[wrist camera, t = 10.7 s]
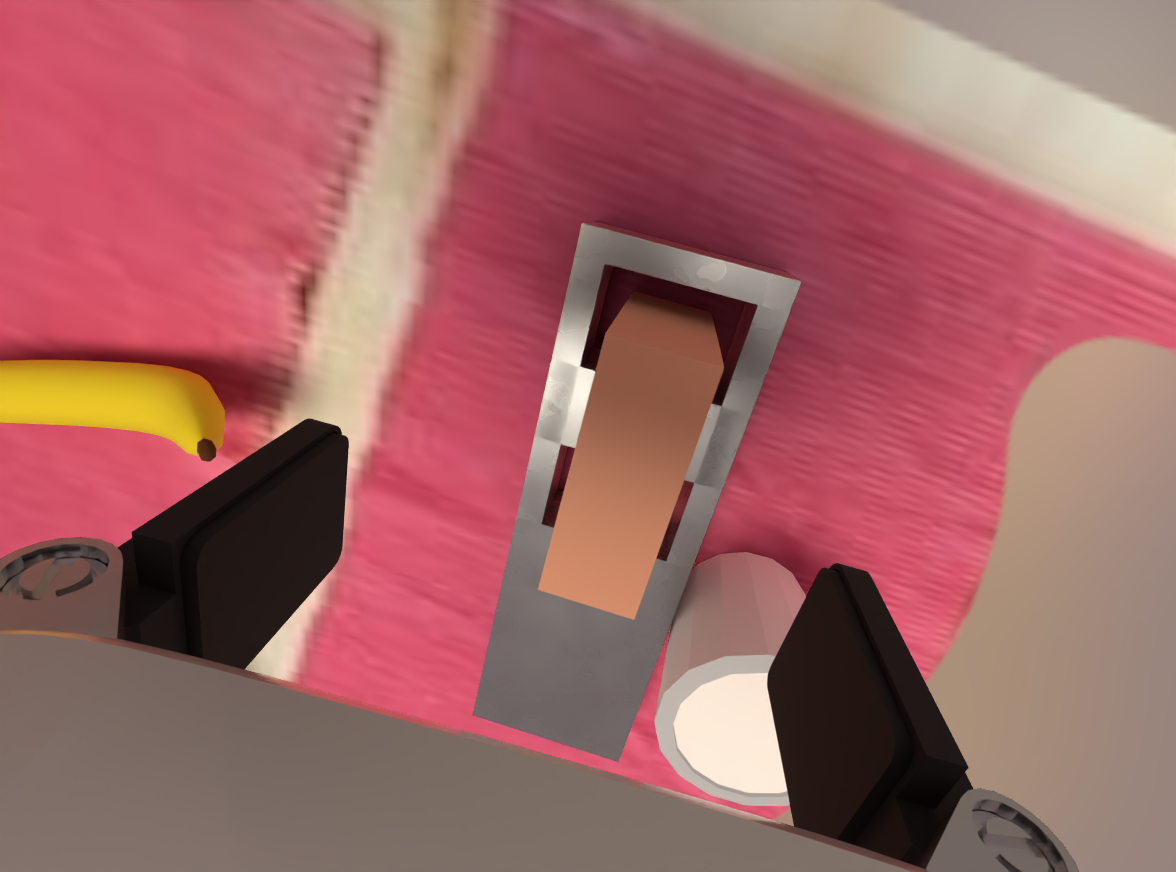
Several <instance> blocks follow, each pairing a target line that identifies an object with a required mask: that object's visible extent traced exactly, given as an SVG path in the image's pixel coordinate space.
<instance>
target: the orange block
mask: <svg viewBox="0 0 1176 872" xmlns="http://www.w3.org/2000/svg"><path fill="white" fill-rule="evenodd" d="M723 370H724V364H723V359H722V355H721V351H720V347H719V342H718V338H717V334H716V329H715V325H714V321H713V317H712V313H711V312H707V311H703V310H700V309H696V308H693V307H689V306H686V305H682V304H679V303H675V302H671V301H668V300H664V299H661V298H657V297H654V296H650V295H646V294H643V293H639V292H636V291H633V292H632V294H631V296H630V297H629V299H628V300H627V302H626V303H625V305H624V306H623V308H622V309H621V311H620V312H619V314H618V315H617V317H616V318H615V320H614V321H613V323H612V324H611V326H610V327H609V329H608V330H607V332H606V333H605V337H604V341H603V344H602V348H601V352H600V356H599V359H598V363H597V367H596V371H595V375H594V378H593V382H592V386H591V390H590V394H589V397H588V401H587V405H586V409H585V413H584V416H583V420H582V424H581V428H580V432H579V435H578V439H577V443H576V447H575V451H574V454H573V458H572V462H571V466H570V469H569V473H568V477H567V481H566V485H565V488H564V492H563V496H562V500H561V504H560V507H559V511H558V515H557V519H556V523H555V526H554V530H553V534H552V538H551V542H550V545H549V549H548V553H547V557H546V560H545V564H544V568H543V572H542V576H541V579H540V583H539V587H538V590H540V591H543V592H547V593H550V594H553V595H556V596H559V597H563V598H566V599H569V600H572V601H575V602H579V603H582V604H585V605H588V606H591V607H595V608H598V609H601V610H604V611H607V612H611V613H614V614H617V615H620V616H623V617H627V618H630V619H633V620H634V619H635V616H636V614H637V611H638V608H639V605H640V602H641V600H642V597H643V594H644V591H645V588H646V586H647V583H648V580H649V577H650V574H651V572H652V569H653V566H654V563H655V560H656V558H657V555H658V552H659V549H660V546H661V544H662V541H663V538H664V535H665V532H666V530H667V527H668V524H669V521H670V518H671V516H672V513H673V510H674V507H675V504H676V502H677V499H678V496H679V493H680V490H681V488H682V485H683V482H684V479H685V476H686V474H687V471H688V468H689V465H690V462H691V460H692V457H693V454H694V451H695V448H696V446H697V443H698V440H699V437H700V434H701V432H702V429H703V426H704V423H705V420H706V418H707V415H708V412H709V409H710V407H711V404H712V401H713V398H714V395H715V393H716V390H717V387H718V384H719V381H720V379H721V376H722V373H723Z"/></svg>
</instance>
